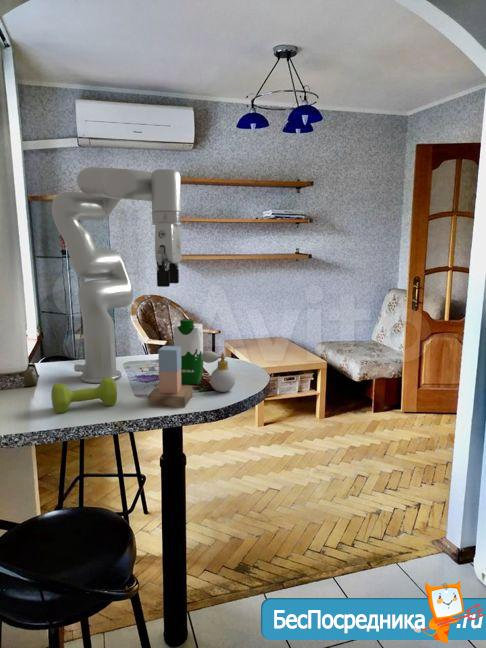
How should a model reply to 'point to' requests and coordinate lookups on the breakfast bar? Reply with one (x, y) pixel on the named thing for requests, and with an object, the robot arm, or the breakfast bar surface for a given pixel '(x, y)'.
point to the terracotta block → (170, 382)
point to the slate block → (169, 358)
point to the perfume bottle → (219, 372)
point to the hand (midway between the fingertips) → (168, 284)
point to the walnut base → (170, 397)
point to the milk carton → (190, 350)
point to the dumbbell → (83, 395)
